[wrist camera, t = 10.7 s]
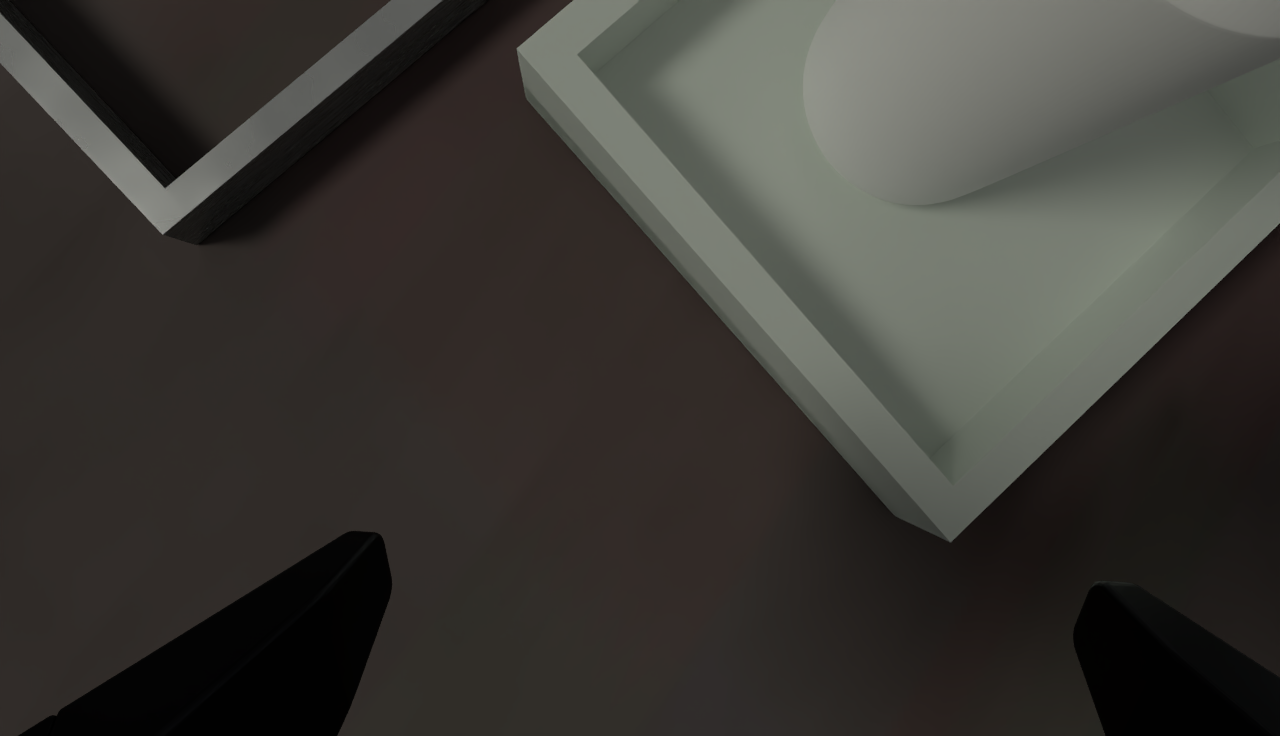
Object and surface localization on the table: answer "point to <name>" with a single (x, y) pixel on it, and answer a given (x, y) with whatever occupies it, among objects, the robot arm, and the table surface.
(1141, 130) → the tray
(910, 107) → the beverage can
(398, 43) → the grey square frame
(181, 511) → the table surface
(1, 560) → the table surface
